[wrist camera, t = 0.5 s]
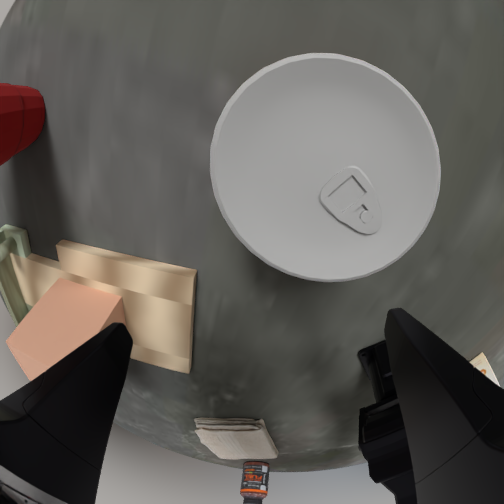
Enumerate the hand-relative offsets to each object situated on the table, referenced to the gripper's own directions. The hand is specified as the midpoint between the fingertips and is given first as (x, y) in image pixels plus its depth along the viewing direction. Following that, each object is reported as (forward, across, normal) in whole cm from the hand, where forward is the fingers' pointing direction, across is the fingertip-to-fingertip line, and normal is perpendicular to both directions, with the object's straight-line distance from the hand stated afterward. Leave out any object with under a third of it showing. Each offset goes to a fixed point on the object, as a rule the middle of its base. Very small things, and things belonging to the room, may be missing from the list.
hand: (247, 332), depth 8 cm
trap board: (+13, +21, +8) cm, 26 cm away
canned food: (+13, -3, -4) cm, 14 cm away
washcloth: (+14, +9, +41) cm, 45 cm away
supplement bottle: (+14, +9, +59) cm, 62 cm away
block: (+12, +19, +8) cm, 24 cm away
